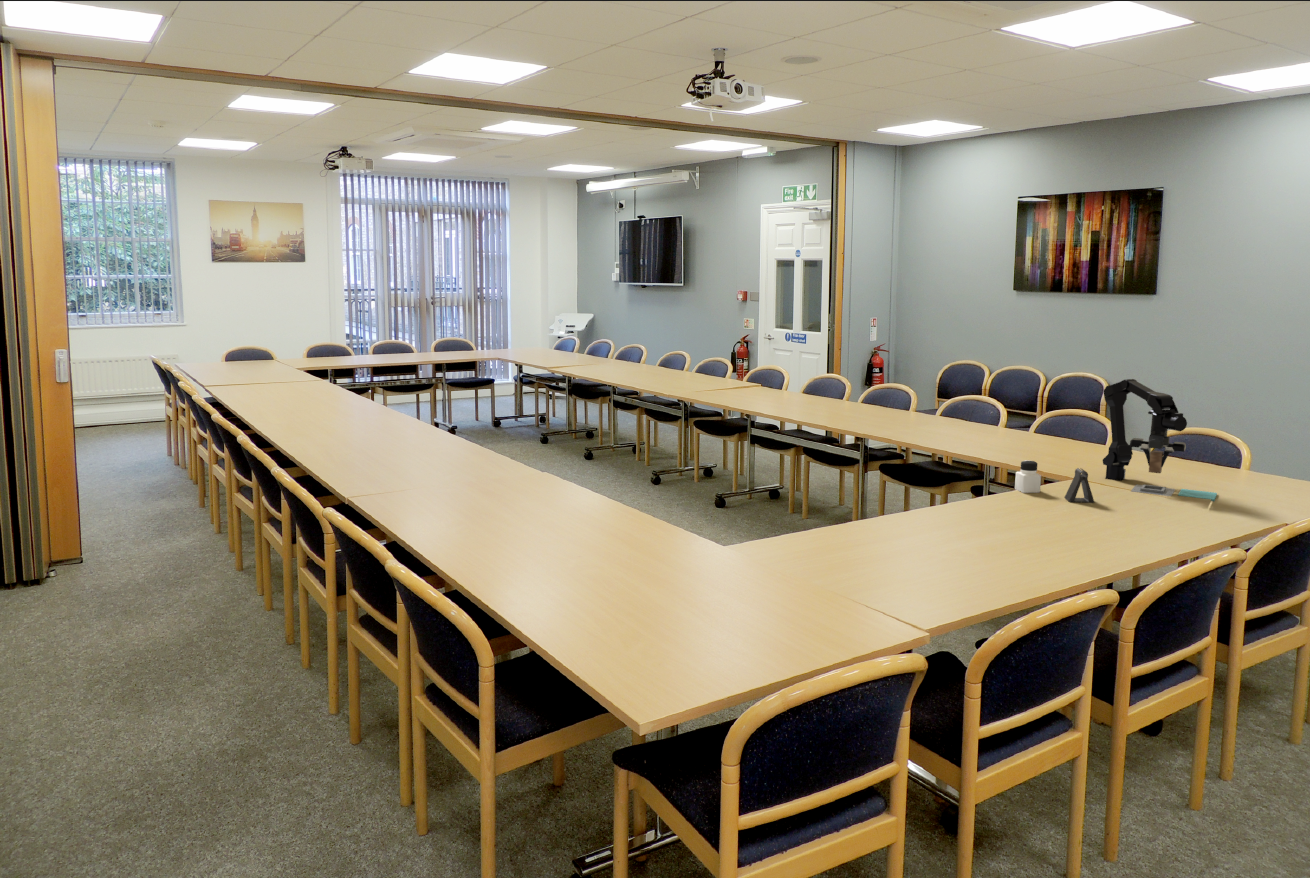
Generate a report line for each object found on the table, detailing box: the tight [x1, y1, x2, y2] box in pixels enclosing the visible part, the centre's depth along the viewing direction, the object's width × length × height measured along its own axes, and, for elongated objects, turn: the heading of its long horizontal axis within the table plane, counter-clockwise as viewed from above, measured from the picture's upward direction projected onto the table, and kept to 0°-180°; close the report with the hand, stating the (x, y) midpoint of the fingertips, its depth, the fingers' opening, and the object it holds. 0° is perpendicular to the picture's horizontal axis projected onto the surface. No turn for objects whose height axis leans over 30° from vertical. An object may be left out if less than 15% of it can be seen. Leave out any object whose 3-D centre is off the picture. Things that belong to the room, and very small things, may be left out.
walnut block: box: [1148, 450, 1164, 474], centre depth 357 cm, size 4×4×8 cm
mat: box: [1177, 488, 1218, 502], centre depth 352 cm, size 12×12×1 cm
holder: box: [1130, 484, 1176, 497], centre depth 359 cm, size 14×14×2 cm
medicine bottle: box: [1014, 459, 1042, 494], centre depth 360 cm, size 7×7×12 cm
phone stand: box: [1064, 467, 1095, 504], centre depth 345 cm, size 9×6×12 cm, turn 81°
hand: (1155, 466), depth 357 cm, fingers closed on walnut block, 4 cm apart
